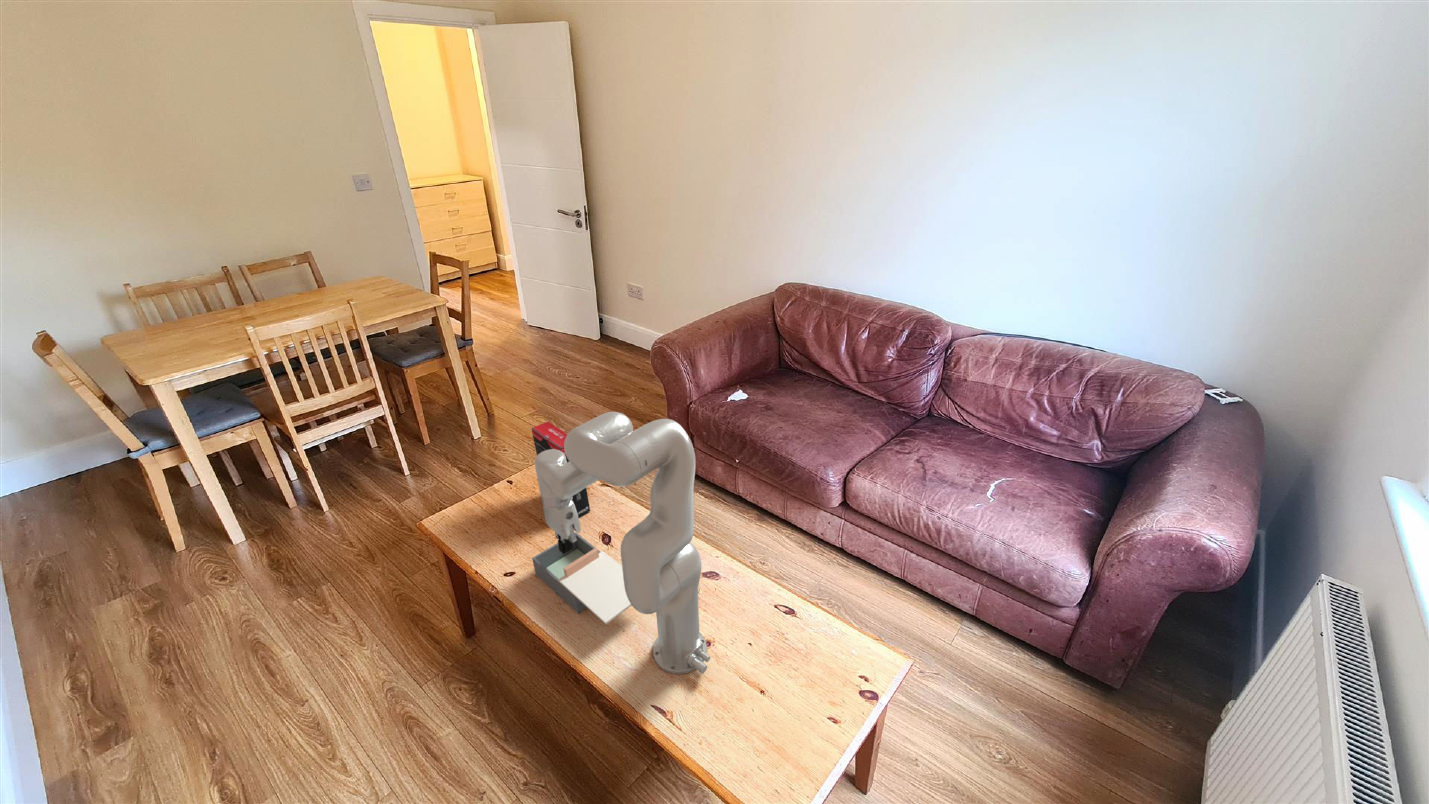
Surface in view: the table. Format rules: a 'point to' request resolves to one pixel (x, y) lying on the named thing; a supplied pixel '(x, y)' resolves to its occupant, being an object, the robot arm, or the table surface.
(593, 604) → the lid
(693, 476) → the robot arm
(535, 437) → the graphics card box
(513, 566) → the table surface
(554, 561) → the box
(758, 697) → the table surface
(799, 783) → the table surface
